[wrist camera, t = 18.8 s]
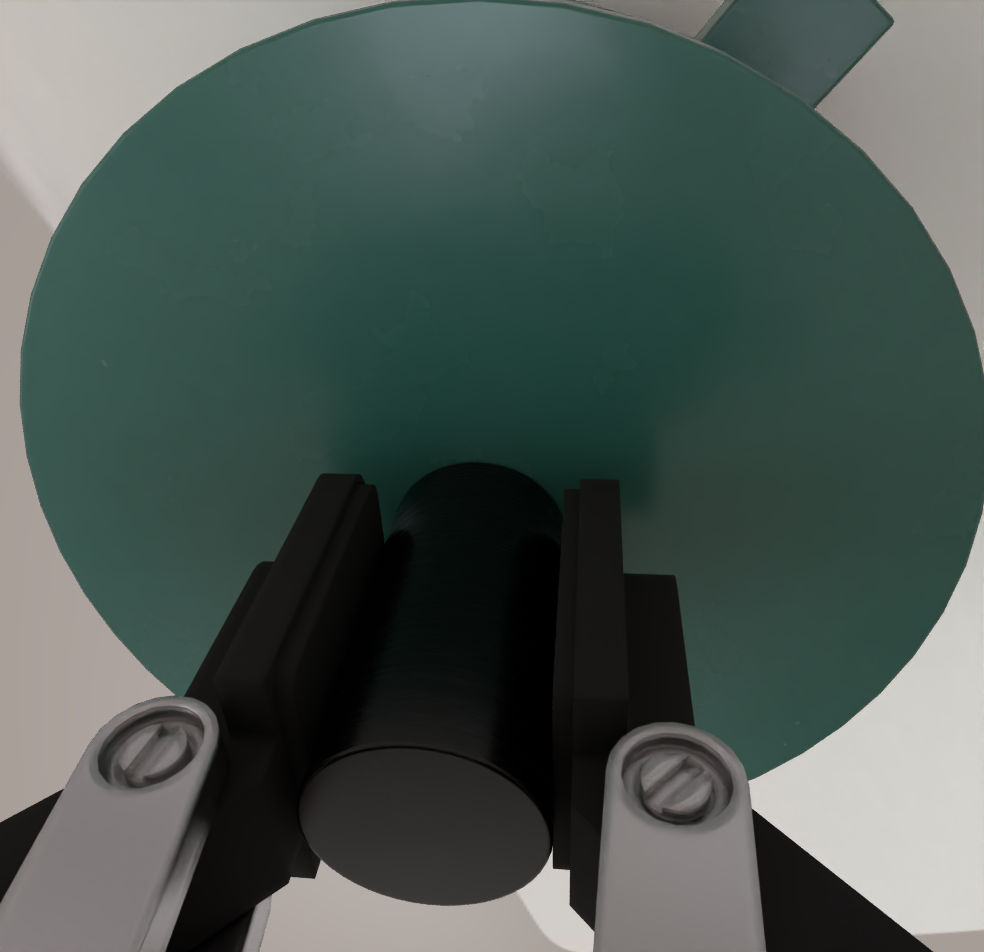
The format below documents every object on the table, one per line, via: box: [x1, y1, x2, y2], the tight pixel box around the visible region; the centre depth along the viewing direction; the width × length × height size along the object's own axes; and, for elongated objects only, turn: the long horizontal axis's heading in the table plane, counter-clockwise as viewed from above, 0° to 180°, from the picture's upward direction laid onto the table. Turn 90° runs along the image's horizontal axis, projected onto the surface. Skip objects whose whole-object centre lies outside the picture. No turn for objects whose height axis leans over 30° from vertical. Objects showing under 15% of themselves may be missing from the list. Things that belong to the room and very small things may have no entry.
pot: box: [566, 0, 894, 109], centre depth 21 cm, size 12×18×9 cm
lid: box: [20, 0, 984, 906], centre depth 11 cm, size 14×14×6 cm
